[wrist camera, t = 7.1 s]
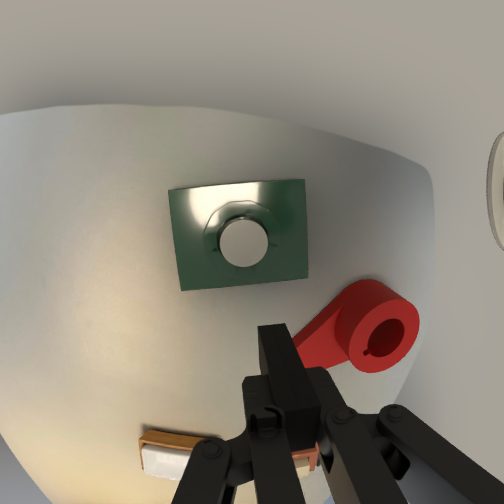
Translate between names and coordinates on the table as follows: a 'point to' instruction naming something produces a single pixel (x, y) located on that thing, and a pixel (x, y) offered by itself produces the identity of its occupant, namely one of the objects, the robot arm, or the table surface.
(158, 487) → the table surface
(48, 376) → the table surface
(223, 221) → the green rectangular block
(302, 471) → the beige square block
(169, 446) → the soap dish
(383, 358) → the lever
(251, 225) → the light grey push button
